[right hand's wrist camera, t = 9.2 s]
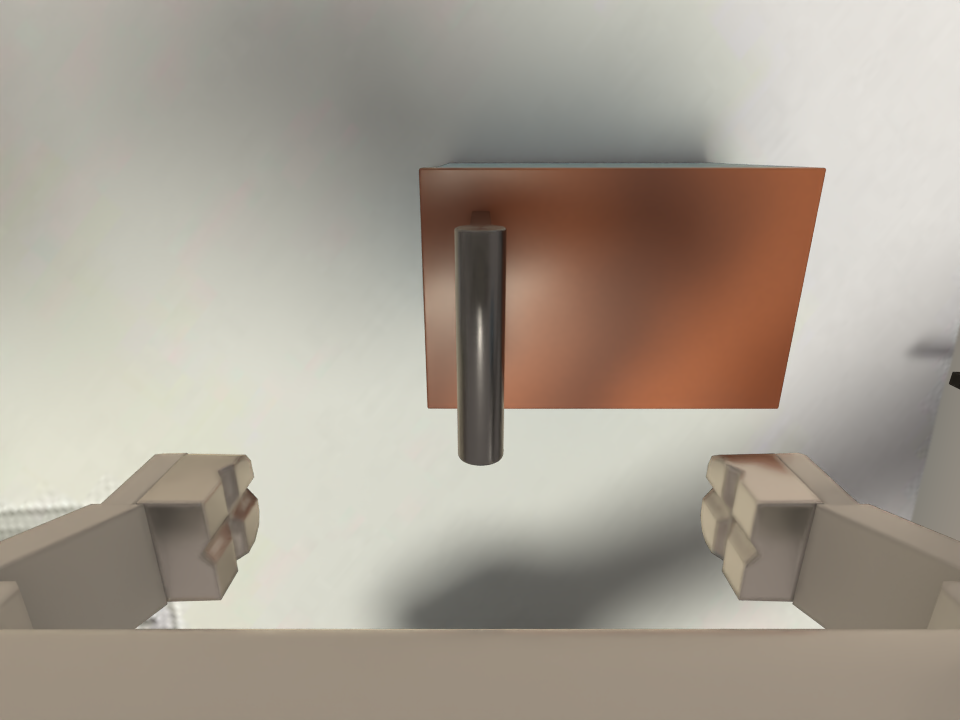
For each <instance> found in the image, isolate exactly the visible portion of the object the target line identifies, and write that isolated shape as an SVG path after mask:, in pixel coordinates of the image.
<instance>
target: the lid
mask: <svg viewBox="0 0 960 720" xmlns="http://www.w3.org/2000/svg"><path fill="white" fill-rule="evenodd" d="M825 172H826V169H825V168H815V167H597V168H420V169H419V185H420V213H421V240H422V268H423V296H424V323H425V351H426V378H427V406H428V408H444V409H457V418H458V456H459V458H460V459H461V460H462V461H464V462H466V463H468V464H471V465H479V466H482V465H490V464H493V463H496V462H498V461H499V460H500V459H501V458H502V456H503V439H504V409H777V408H778V407H779V402H780V397H781V392H782V387H783V382H784V377H785V372H786V367H787V362H788V357H789V352H790V347H791V342H792V337H793V332H794V327H795V322H796V317H797V312H798V307H799V302H800V297H801V292H802V287H803V282H804V277H805V272H806V267H807V262H808V257H809V252H810V247H811V242H812V237H813V232H814V227H815V222H816V217H817V212H818V207H819V202H820V197H821V192H822V187H823V182H824V177H825Z"/></svg>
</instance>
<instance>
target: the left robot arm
mask: <svg viewBox="0 0 960 720" xmlns="http://www.w3.org/2000/svg"><path fill="white" fill-rule="evenodd" d="M949 384H950V385H952V386H954V387H956V388H958V389H960V372H953V373H952V376H951V379H950V382H949Z"/></svg>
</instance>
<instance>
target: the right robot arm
mask: <svg viewBox="0 0 960 720" xmlns="http://www.w3.org/2000/svg"><path fill="white" fill-rule="evenodd" d="M253 478H254V474H253V469H252V464H251V460H250V459H249V458H248V457H247V456H246V455H238V454H188V453H168V454H156V455H154V456H153V457H152V458H151V459H150V460H148V461H147V462H146V463H145V464H144V465H143V466H142V467H141V468H140V469H139V470H138V471H136V472H135V473H134V474H133V475H132V476H131V477H130V478H129V479H128V480H127V481H125V482H124V483H123V484H122V485H121V486H120V487H119V488H118V489H117V490H116V491H114V492H113V493H112V494H111V495H110V496H109V497H108V498H107V499H106V500H105V501H104V502H102V503H101V504H90V505H88V506H85V507H83V508H80V509H78V510H76V511H73V512H71V513H68V514H66V515H63V516H61V517H59V518H56V519H54V520H51V521H49V522H46V523H44V524H41V525H39V526H37V527H34V528H32V529H29V530H27V531H24V532H22V533H20V534H17V535H15V536H12V537H10V538H7V539H5V540H2V541H0V720H960V541H957V540H955V539H952V538H950V537H948V536H945V535H943V534H940V533H938V532H935V531H933V530H930V529H928V528H926V527H923V526H921V525H918V524H916V523H914V522H911V521H909V520H906V519H904V518H901V517H899V516H897V515H894V514H892V513H889V512H887V511H884V510H882V509H880V508H877V507H875V506H872V505H870V504H859V503H858V502H857V501H855V500H854V499H853V498H852V497H851V496H850V495H849V494H848V493H847V492H846V491H844V490H843V489H842V488H841V487H840V486H839V485H838V484H837V483H836V482H835V481H834V480H832V479H831V478H830V477H829V476H828V475H827V474H826V473H825V472H824V471H823V470H822V469H820V468H819V467H818V466H817V465H816V464H815V463H814V462H813V461H812V460H811V459H810V458H808V457H807V456H806V455H803V454H800V453H783V454H737V455H715V456H712V457H711V459H710V461H709V464H708V468H707V474H706V478H707V479H708V481H709V483H710V484H711V486H712V487H713V488H712V489H711V491H710V492H709V493H708V494H707V495H706V496H705V497H704V498H703V499H702V507H701V515H700V516H701V526H702V533H703V536H704V539H705V542H706V544H707V546H708V548H709V549H710V551H711V553H713V554H714V555H716V556H717V557H719V558H721V559H722V560H724V561H723V567H722V572H723V574H724V575H725V577H726V579H727V580H728V582H729V584H730V586H731V587H732V589H733V591H734V592H735V594H736V596H737V597H738V599H739V600H752V601H788V602H793V605H795V606H796V607H797V608H799V609H800V610H801V611H803V612H804V613H805V614H806V615H808V616H809V617H810V618H812V619H813V620H814V621H816V622H817V623H818V624H820V625H821V626H822V627H824V628H825V629H135V628H136V627H138V626H139V625H140V624H142V623H143V622H144V621H146V620H147V619H148V618H150V617H151V616H152V615H154V614H155V613H156V612H158V611H159V610H160V609H162V608H163V607H164V606H166V605H167V602H172V601H207V600H221V599H222V598H223V596H224V594H225V592H226V591H227V589H228V587H229V586H230V584H231V582H232V581H233V579H234V577H235V575H236V574H237V572H238V567H237V561H236V560H238V559H239V558H241V557H243V556H244V555H246V554H247V553H249V551H250V549H251V548H252V546H253V544H254V542H255V539H256V535H257V531H258V527H259V505H258V499H257V498H256V497H255V496H254V495H253V494H252V493H251V492H250V491H249V489H248V488H247V487H248V486H249V484H250V483H251V481H252V480H253Z"/></svg>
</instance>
